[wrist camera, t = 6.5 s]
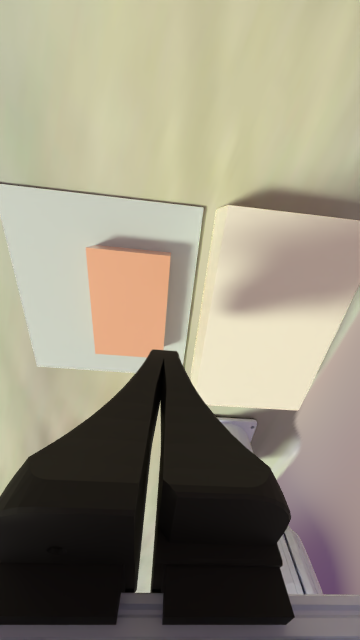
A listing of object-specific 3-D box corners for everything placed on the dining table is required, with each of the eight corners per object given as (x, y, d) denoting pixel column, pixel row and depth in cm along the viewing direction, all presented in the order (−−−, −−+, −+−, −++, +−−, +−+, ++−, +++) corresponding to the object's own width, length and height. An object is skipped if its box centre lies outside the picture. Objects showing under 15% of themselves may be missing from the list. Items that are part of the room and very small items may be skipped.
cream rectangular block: (279, 380, 23) (298, 410, 19) (190, 375, 22) (193, 404, 19) (341, 223, 16) (388, 223, 12) (216, 209, 16) (228, 204, 12)
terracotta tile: (95, 353, 18) (102, 342, 20) (162, 358, 19) (163, 346, 20) (85, 247, 14) (95, 244, 16) (170, 256, 15) (171, 252, 17)
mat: (181, 374, 22) (181, 376, 22) (38, 364, 21) (37, 366, 21) (203, 207, 15) (203, 207, 15) (-5, 183, 15) (-8, 183, 14)
